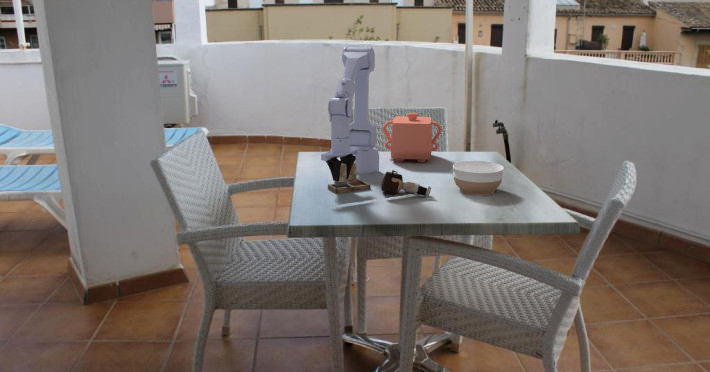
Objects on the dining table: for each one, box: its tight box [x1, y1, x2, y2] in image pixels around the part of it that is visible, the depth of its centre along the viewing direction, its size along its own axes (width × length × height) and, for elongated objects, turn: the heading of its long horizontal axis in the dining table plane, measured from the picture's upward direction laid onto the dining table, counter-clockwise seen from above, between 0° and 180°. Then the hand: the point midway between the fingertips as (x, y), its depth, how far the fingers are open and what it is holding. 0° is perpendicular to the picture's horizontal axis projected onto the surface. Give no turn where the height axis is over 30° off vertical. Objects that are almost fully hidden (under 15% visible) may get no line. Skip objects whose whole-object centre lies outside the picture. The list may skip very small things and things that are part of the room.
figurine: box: [380, 169, 432, 198], centre depth 185 cm, size 9×8×15 cm
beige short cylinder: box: [347, 162, 358, 182], centre depth 198 cm, size 4×4×6 cm
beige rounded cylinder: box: [333, 163, 347, 186], centre depth 188 cm, size 4×4×6 cm
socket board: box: [327, 179, 372, 195], centre depth 191 cm, size 12×6×2 cm, turn 116°
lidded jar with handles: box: [382, 112, 443, 163], centre depth 237 cm, size 25×23×18 cm
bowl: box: [452, 160, 505, 196], centre depth 191 cm, size 16×16×8 cm
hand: (340, 179), depth 189 cm, fingers closed on beige rounded cylinder, 4 cm apart
